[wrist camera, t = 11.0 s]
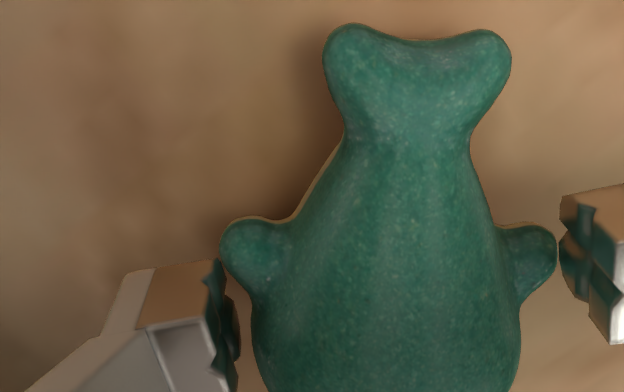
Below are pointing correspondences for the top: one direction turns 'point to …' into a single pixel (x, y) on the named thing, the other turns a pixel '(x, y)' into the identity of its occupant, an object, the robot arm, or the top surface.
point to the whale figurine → (394, 233)
